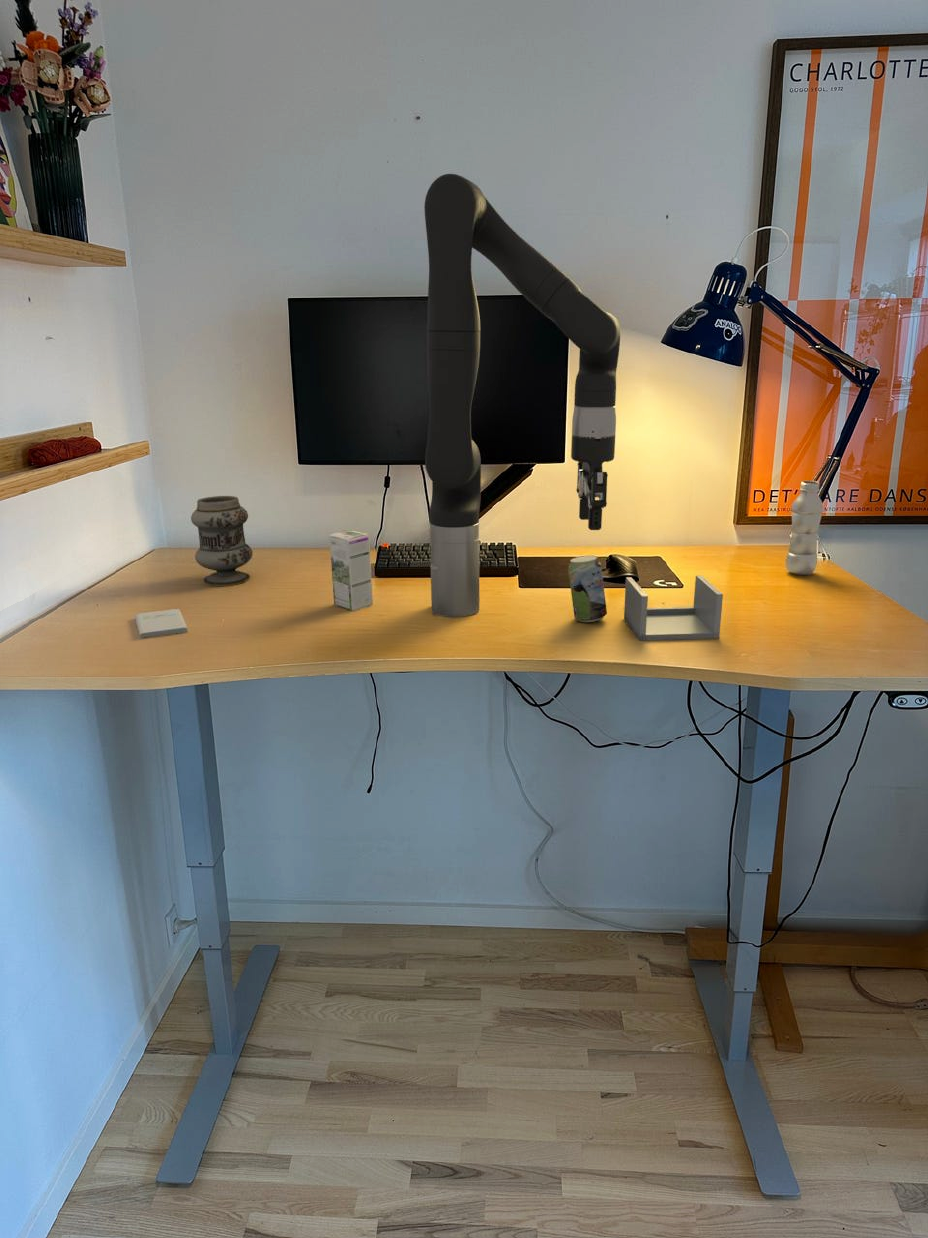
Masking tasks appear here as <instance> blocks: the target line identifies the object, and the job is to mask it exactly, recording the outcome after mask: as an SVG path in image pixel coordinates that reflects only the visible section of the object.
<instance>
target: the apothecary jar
mask: <svg viewBox="0 0 928 1238" xmlns="http://www.w3.org/2000/svg"><path fill="white" fill-rule="evenodd" d="M190 519H191V523H192V524H193V525H194V526H195V527H197V531H198V538H199V540H198V541H199V548H198V549H197V550H196V552H195V555H194V557H195V561H196V562H197V564H198V565H200V566H201V567H202V568H205V569H207V570H211V571H215V572H213V573H210V574H209V575H207V576H205V577H204V579H203V584H204V585H206V586H209V587H227V586H228V587H230V586H235V585H240V584H243V583H246V582H247V581H249V580H250V578H251V577H250V575H249V573H247V572H244V571H240V570H236V569H238V568H240V567H243V566H244V565H246V564H247V563H249V561H250V560H251V559H252V557H253V550H252V547H250V545H248V544H247V543H246V538H245V532H244V524H245V523H246V522H247V521H248V519H249V514H248V511H247V510H246V509H245V508H244V507H243V506H241V504H240V502H239V498H238V497H237V496H236V495H235V496H233V495H216V496H215V495H213V496H208V497H203V498H199V499H197V501H196V509H195V510H194V511H193V512H192V514H191V516H190Z"/></svg>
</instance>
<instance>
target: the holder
mask: <svg viewBox="0 0 928 1238" xmlns="http://www.w3.org/2000/svg"><path fill="white" fill-rule="evenodd" d="M624 587H625V591H624V612H623V620H624V621H625V622H626V624H627V625H628V627H629V628H630V630H631V631H632V632H633V633H634V634H635V636H636V637H637V639H638V640H639V641H668V640H669V641H670V640H672V641H673V640H674V641H675V640H702V639H704V640H705V639H708V640H709V639H720V635H721V634H720V633H721V632H720V631H721V621H722V611H723V599H724V594H723V592H721V591H720V590H719V589H718V588H716V586H714V585H713V584H712V583H711V582H709V580H707V579H706V578H705V577H704V576H703V575H702V574H701V575H695V581H694V595H693V596H694V597H693V606H669V607H667V606H666V607H664V606H662V607H648V602H649V601H648V600H649V596H648V594H646V592H645V591H644V590H643V589H642V588H641V586H640V585H639V584H638V583H637V581H635V579H633V578H632V577H629V576H627V577H625V585H624Z"/></svg>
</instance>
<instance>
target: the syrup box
mask: <svg viewBox="0 0 928 1238" xmlns="http://www.w3.org/2000/svg"><path fill="white" fill-rule="evenodd" d="M328 537H329V538H328V539H329V549H330V550H329V551H330V563H331V577H332V578H331V579H332V591H333V592H332V593H333V605H334V606H336V607H338V608H339V607H340V608H342V609H345V610H349V611H356V610H357V611H358V610H361V609H364V608H368V607H370V606H373V605H374V598H373V597H374V596H373V584H372V567H371V566H372V564H371V548H370V547H371V546H370V534H368V533H364V532H359V531H357V530H356V531H355V530H351V529H349V530H342V531H337V532H335V533H333V534H329V536H328Z"/></svg>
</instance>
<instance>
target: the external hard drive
mask: <svg viewBox="0 0 928 1238" xmlns="http://www.w3.org/2000/svg"><path fill="white" fill-rule="evenodd" d="M134 617H135V623H136V627H138V628H137V631H139V632H138V634H139V635H140V636H139V635H138V636H139V639H140V638H143V639H145V638H144V637H150V638H153V637H152V636H158V637H162V636H161V635H165V636H169V635H168V634H172V635H177V634H176V633H179V634H186V632H187V633H188V632H189V629H188V627H187V624H186V621H185V619H184V617H183V615H182V612H181V610H180V609H179V608H172V609H166V610H157V611H149V612H148V611H147V612H142V613H140V612H139V613H136V614H135V615H134Z"/></svg>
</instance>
